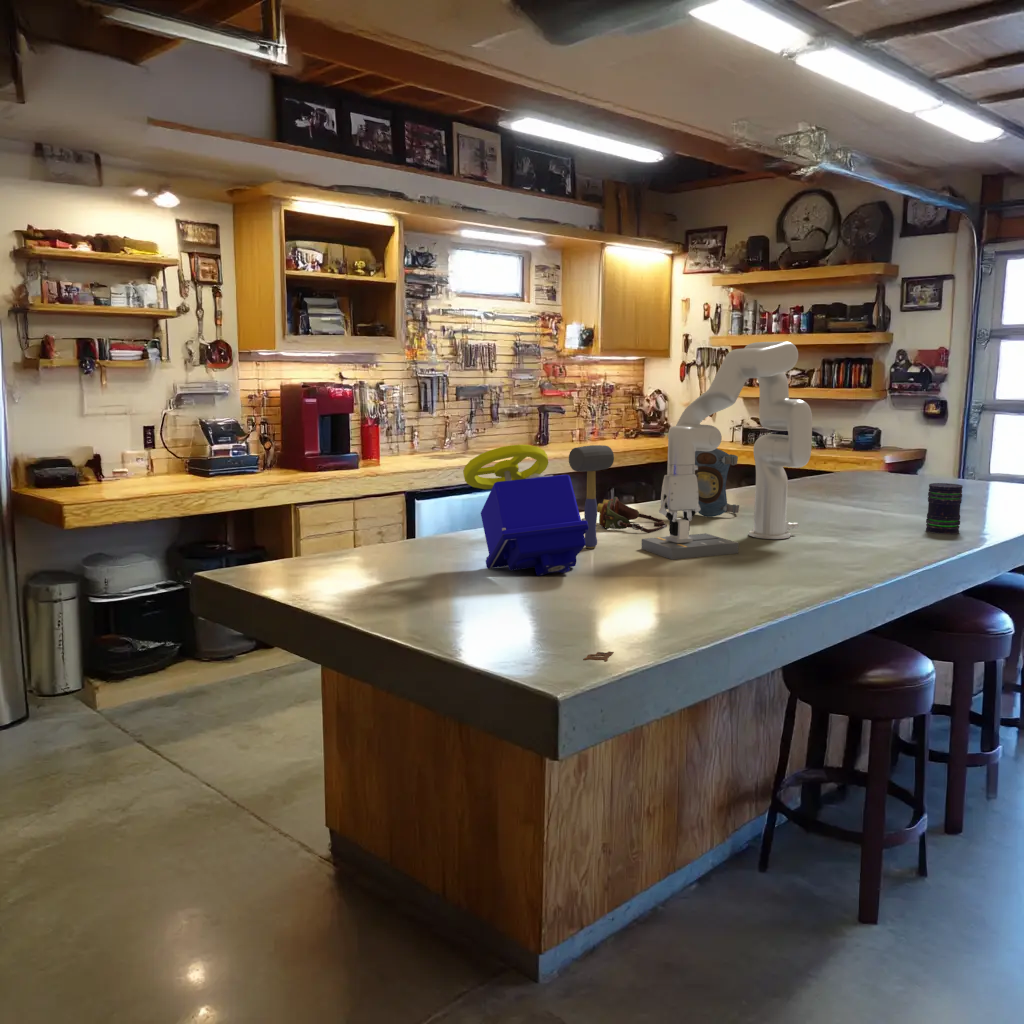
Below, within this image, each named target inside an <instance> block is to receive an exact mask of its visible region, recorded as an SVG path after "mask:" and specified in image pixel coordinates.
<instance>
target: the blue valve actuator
mask: <svg viewBox="0 0 1024 1024" xmlns="http://www.w3.org/2000/svg"><path fill="white" fill-rule="evenodd" d="M509 458H510V459H509ZM526 458H531V459H533V460H535V462H534V463H533V464H532V465H531V466H530V467H529V468H526V469H524V470H522V471H519V470H520V469H519V468H520V467H519V464H520V463H521V462H522V461H524V460H525V459H526ZM496 461H498V462H497V463H495V464H494V465H492V466H486V465H489V464H491V463H493V462H496ZM548 465H549V458H548V455H547V453H546V451H545V450H544V449H543V448H541V447H540V446H536V445H530V444H514V445H506V446H500V447H496V448H493V449H491V450H488V451H485V452H483V453H480V454H479V455H476V456H475V457H473V458H471V459H470V460H469V462H468V463H467V464H466V465H465V466H464V468H463V472H462V473H463V478H464V482H465V483H466V484H467V485H468V486H470V487H472V488H476V489H482V490H490V492H489V494H488V496H487V498H486V501H485V503H484V505H483V507H482V509H481V511H480V516H481V523H482V527H483V531H484V532H483V533H484V537H485V541H486V542H485V543H486V546H487V550H488V556H486V559H485V565H486V568H487V569H495V568H504V567H508V570H509V571H517V570H524V569H525V570H526V569H532V568H534V571H535V575H536V577H541V576H544V575H547V574H553V573H562V574H563V573H568V572H569V571H570V572H571V569H570V568H572V567H576V566H577V565H576V564H577V556H578V555H580V554H579V553H580V552H581V551H582V550H583V549H584V548H585V547H586V546H585V544H586V543H585V533H586V531H587V530H588V529H589V527H588V523H587V521H586V520H585V518H584V517H583V518H581V514H580V511H579V506H578V503H577V498H576V495H575V492H574V491H575V490H574V487H573V483H572V479H571V476H570V474H561V475H560V474H559V475H554V474H547V475H544V474H543V473H544V472H545V470H546V469H547V467H548ZM484 466H486V467H484ZM489 474H494V475H495V476H496V477H495V478H494V477H493V478H492V477H482V476H483V475H489Z"/></svg>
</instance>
